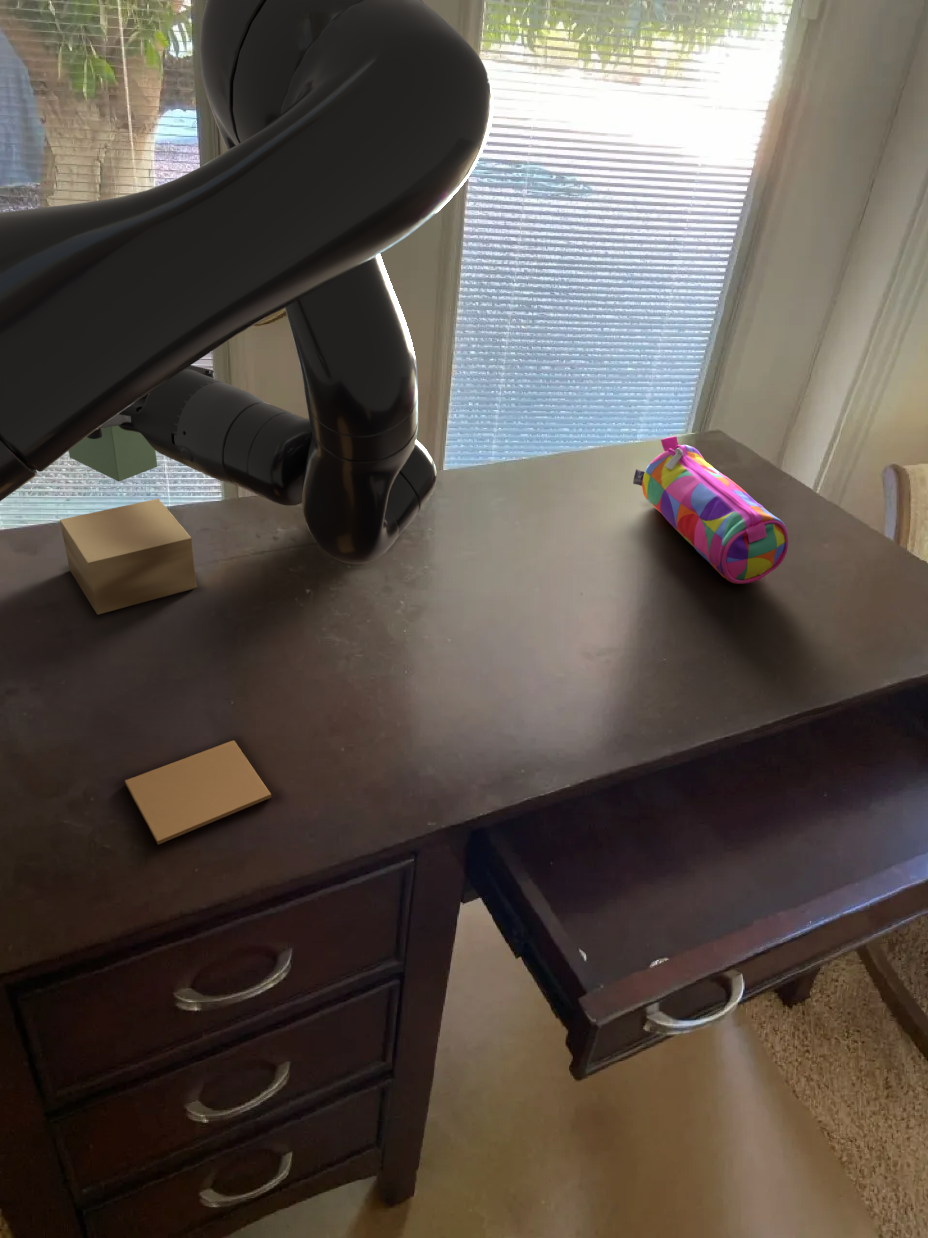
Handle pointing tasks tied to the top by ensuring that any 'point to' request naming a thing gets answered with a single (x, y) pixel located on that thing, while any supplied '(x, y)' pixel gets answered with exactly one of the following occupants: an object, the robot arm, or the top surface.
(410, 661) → the top surface
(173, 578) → the tan square block
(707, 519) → the pencil case
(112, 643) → the top surface
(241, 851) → the top surface
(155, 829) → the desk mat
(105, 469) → the sage green cuboid
